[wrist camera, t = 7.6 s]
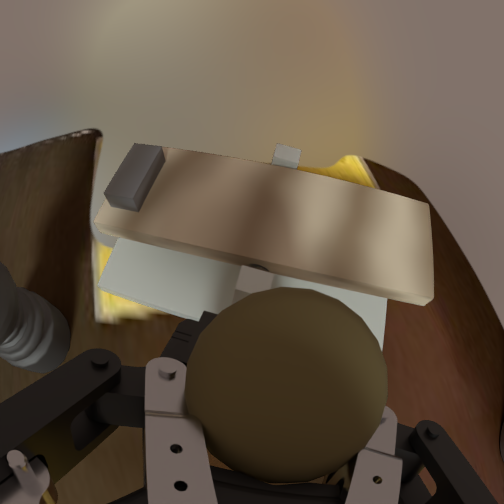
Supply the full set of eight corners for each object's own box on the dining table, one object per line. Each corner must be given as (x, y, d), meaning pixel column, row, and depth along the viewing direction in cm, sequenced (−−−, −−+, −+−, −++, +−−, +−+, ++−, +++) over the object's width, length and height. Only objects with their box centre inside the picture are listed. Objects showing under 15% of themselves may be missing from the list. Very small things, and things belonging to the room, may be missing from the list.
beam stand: (384, 229, 32) (421, 185, 25) (374, 364, 25) (425, 346, 18) (160, 167, 32) (153, 110, 25) (101, 290, 25) (69, 249, 18)
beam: (417, 220, 25) (437, 191, 21) (418, 309, 21) (445, 288, 17) (144, 162, 27) (134, 129, 23) (104, 238, 23) (84, 208, 20)
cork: (207, 330, 17) (200, 223, 8) (313, 354, 17) (429, 280, 8) (180, 435, 15) (127, 481, 5) (293, 457, 15) (402, 514, 5)
